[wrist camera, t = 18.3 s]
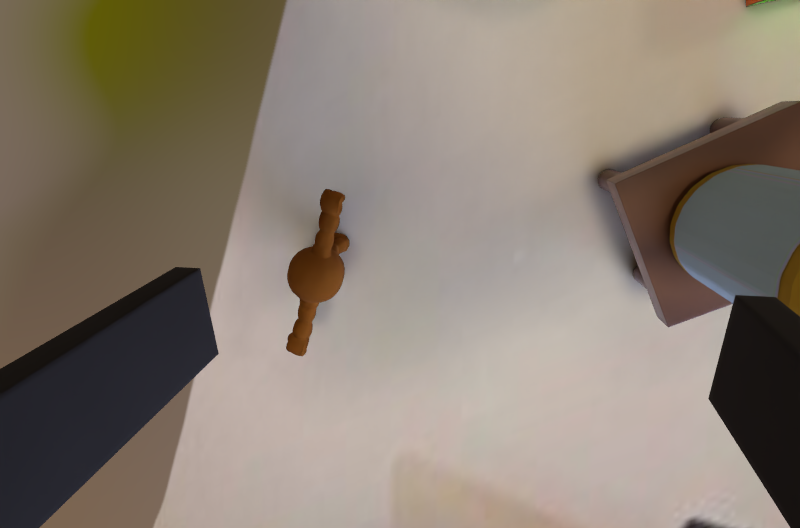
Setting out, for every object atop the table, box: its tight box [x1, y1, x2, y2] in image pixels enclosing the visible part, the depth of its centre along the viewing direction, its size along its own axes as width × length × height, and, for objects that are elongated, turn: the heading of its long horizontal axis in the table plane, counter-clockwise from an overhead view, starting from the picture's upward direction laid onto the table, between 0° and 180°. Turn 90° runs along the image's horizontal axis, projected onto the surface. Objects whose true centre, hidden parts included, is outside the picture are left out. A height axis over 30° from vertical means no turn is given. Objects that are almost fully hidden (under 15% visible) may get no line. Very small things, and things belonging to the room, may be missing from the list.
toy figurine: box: [286, 189, 349, 356], centre depth 33 cm, size 12×4×7 cm, turn 164°
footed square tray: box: [598, 101, 800, 327], centre depth 29 cm, size 10×10×6 cm
